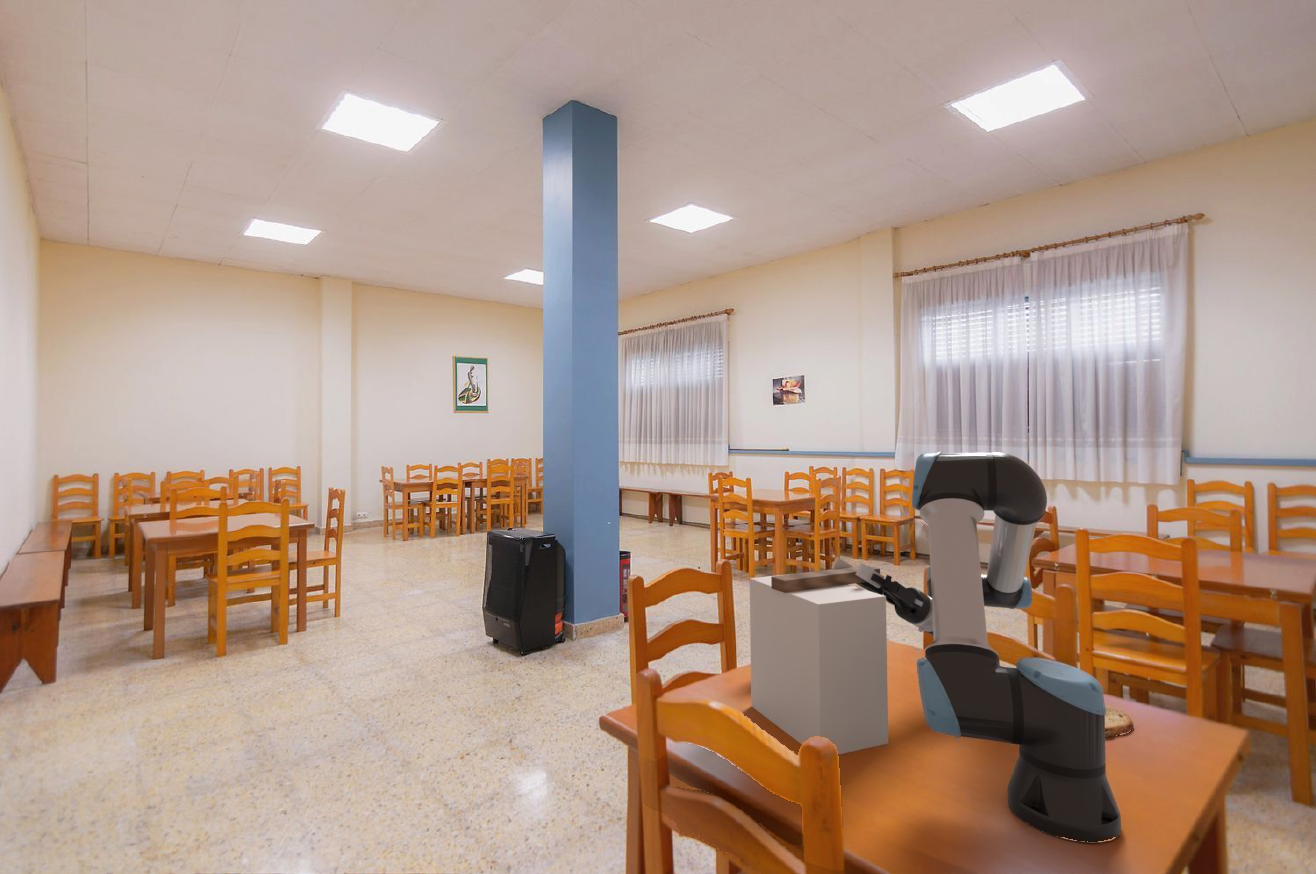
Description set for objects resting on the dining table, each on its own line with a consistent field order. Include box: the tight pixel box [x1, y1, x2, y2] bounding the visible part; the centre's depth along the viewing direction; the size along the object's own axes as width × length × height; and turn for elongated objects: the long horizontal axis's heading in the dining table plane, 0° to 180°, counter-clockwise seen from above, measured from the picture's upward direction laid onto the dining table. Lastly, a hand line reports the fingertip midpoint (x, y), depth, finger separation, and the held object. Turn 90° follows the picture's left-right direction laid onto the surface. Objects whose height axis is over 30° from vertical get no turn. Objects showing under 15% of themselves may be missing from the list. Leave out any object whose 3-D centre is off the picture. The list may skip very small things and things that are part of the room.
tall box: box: [749, 573, 889, 756], centre depth 134 cm, size 16×26×29 cm, turn 21°
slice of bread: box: [1105, 705, 1135, 738], centre depth 133 cm, size 18×18×4 cm
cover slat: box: [771, 565, 881, 593], centre depth 136 cm, size 26×5×2 cm, turn 116°
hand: (846, 565), depth 137 cm, fingers open, 8 cm apart
